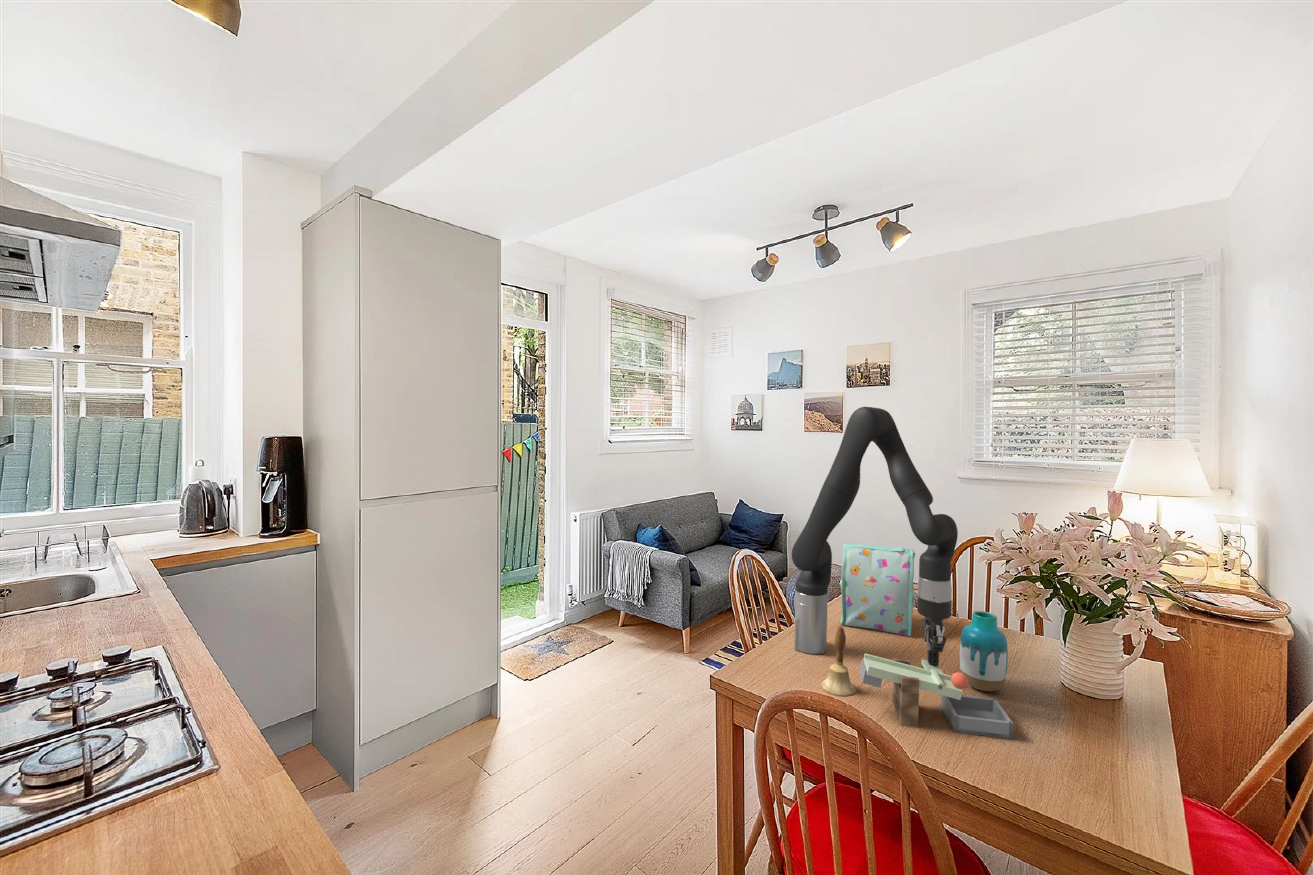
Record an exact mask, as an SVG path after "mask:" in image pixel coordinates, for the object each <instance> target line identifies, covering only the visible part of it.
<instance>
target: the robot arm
mask: <svg viewBox="0 0 1313 875" xmlns="http://www.w3.org/2000/svg"><path fill="white" fill-rule="evenodd" d="M871 442H873V443H874V444H875V445H876V446H877V448H878V449H879V450H880V452H881V454H882V455H883V457H884V459H885V462H886V464H887V469H888V473H889V479H890V481H891V484H892V487H893V489H894V490H895V493H896V494H897V496H898V497H899V499H900V501H901V503H902V504H903V506H904V508H905V511H906V516H907V519H908V522H909V525H910V528H911V531H912V533H913V535H914V536H915V537H916V539H917V540H918V541H919V543H921V544H924V545H925V546H927V549H926V550H925V551H924V552H923V553H921V554H920V556H919V559H918V560H919V561H918V562H919V564H918V581H917V601H916V604H917V606H916V608H917V609H916V610H917V613H918V614H919V615H921V616H922V617H925V618H922V619H921V621H922V628H923V634H924V635H923V636H924V642H925V643H926V644H925V645H926V648H927V660H928V663H929V665H931V666H938V665H939V663H940V661H939V660H940V658H939V657H940V653H943V650H944V647H945V645H946V643H947V637H946V636H944V633H945V624H943V621H944V620H947V619H950V618H951V616H952V598H953V597H952V593H953V592H952V590H953V588H952V580H951V578H952V577H951V576H952V560H953V557H954V554H955V550H956V546H957V543H958V542H957V541H958V534H959V531H958V530H959V529H958V527H957V523H956V522H955V520H954V518H952V517H951V516H950V515H948V514H944V513H937V514H933V512H932V510H931V504H932V503H933V502H934V497H933V495H932V493H931V491H930V489H929V488H928V486H927V484H926V483H925V482H924V479H923V478H922V476H921V475H920V473H919V472H918V470H917V467H916V466H915V465H914V463H913V460H912V459H911V456H910V455H909V453H908V451H907V449H906V447H905V444H904V441H903V440H902V437H901V435H900V432H899V429H898V427H897V424H896V422H895V420H894V418H893V416H892V414H890V412H889V411H887V410H886V409H883V408H880V407H873V406H862V407H859V408H857V409H856V410H854V411H853V413H852V414H851V415H850V417H849V419H848V421H847V424H846V427H845V431H844V433H843V436H842V440H841V443H840V444H839V445H840V446H839V449H838V451H837V453H836V455H835V458H834V460H833V463H832V465H831V468H830V470H829V472H828V474H827V476H826V478H825V480H824V482H823V485H822V487H821V489H820V491H819V494H818V496H817V499H816V501H815V503H814V505H813V507H812V510H811V512H810V515H809V517H808V519H807V521H806V523H805V525H804V527H803V529H802V531H801V532H800V534H799V536H798V537H797V538H796V541H795V542H794V544H793V547H792V549H791V560H792V563H793V565H794V566H795V568H796V569H797V570H799V571H800V574H799V576H798V577H797V579H796V581H795V598H794V599H795V602H794V603H795V604H794V606H795V608H794V609H795V610H794V633H793V634H794V641H793V642H794V643H793V644H794V650H795V651H799V652H802V653H805V654H809V655H819V654H823V653H825V652H826V651H827V643H828V642H827V639H828V638H827V636H828V634H827V633H828V598H829V597H828V595H829V594H828V593H829V592H828V590H829V589H828V588H829V585H830V584H831V583H830V582H831V579H832V578H831V577H832V562H833V551H832V549H831V545H830V543H829V542H828V539H829V537H830V535H831V533H832V532H833V531H834V529H835V528H836V526H838V524H839V523H840V522H841V521H842V520H843V519H844V517H845V516H846V515H847V513H848V512H849V511H850V509H851V507H852V505H853V503H854V501H855V499H856V497H857V494H858V493H859V489H860V485H861V465H862V460H863V458H864V455H865V453H866V451H867V450H868V447H869V446H870V444H871ZM939 666H940V665H939Z"/></svg>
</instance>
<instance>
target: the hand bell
mask: <svg viewBox="0 0 1313 875" xmlns="http://www.w3.org/2000/svg"><path fill="white" fill-rule="evenodd" d="M846 637H847V636H846V634H845V630H844V627H843V626H838V627H837V630H836V633H835V637H834V645H835V648H836V656H835V657H836V659H835V663H833V664H831V665H830V666H829V671H828V675H827V677H826V679H824V680H823V681H822V682H821V687H822V689H823V690H824V691H826V692H827V693H829V694H831V695H834V696H837V697H849V696H852V695H854V694H856V687H855V686H854V684H853V683H852V681H851V679H850V675H849V673H850V672H849V668H848V667H847V666H845V665H844V651H845V650H844V649H845V647H846V642H847V641H846V640H847V638H846Z"/></svg>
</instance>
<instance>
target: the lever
mask: <svg viewBox="0 0 1313 875" xmlns="http://www.w3.org/2000/svg"><path fill="white" fill-rule="evenodd" d="M921 665H922V667H923V668H922V667H919V666H915V665H911V664H910V665H907V664H904V663H900V662H896V661H893V659H887V658H884V657H880V656H876V655H873V654H869V653H864V655H863V659H861V661H860V666H859V670H858V671H859V676H860V679H861V682H862V684H865V685H868V686H872V687H876V688H878V689H881V687H882V682H883V680H884V681H888V682H891V683H893V682H895V683H899V684H901V676H904V677H914V678H919V690H923V691H926V692H929V693H931V694H932V693H933V694H936V695H941V696H942V695H943V696H947V697H951V698H955V699H958V700H961V695H963V689H959V688H956V687H955V686H954V685H953V684H952V682H951V676H952V675H949V674H945V673H944V672H943V670H942V668H941V667H940V665H938V666H931V665H929V663H928V659H923V658H921Z"/></svg>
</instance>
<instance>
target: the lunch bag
mask: <svg viewBox="0 0 1313 875" xmlns="http://www.w3.org/2000/svg"><path fill="white" fill-rule="evenodd" d="M842 548H843V549H842V565H841V578H840V582H839V585H840V589H841V609H842V610H841V616H840V623H839V624H840V625H845V626H849V627H856V628H857V627H858V628H862V629H863V628H864V629H872V630H876V631H883V632H885V633H886V632H887V633H891V634H897V635H901V636H902V635H903V636H908V637H911V636H912V624H913V623H912V622H913V621H912V620H913V613H914V606H915V598H916V594H915V593H916V592H915V588H914V579H915V578H914V577H915V571H914V570H915V564H914V563H915V561H914V559H915V556H916V552H914V549H913V548H912V549H909V548H904V547H903V546H898V547H893V546H891V547H890V546H883V545H873V544H871V545H870V544H869V545H868V544H867V545H866V544H860V543H859V544H855V543H853V544H852V543H848V544H847V543H844V544H843V547H842Z"/></svg>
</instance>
